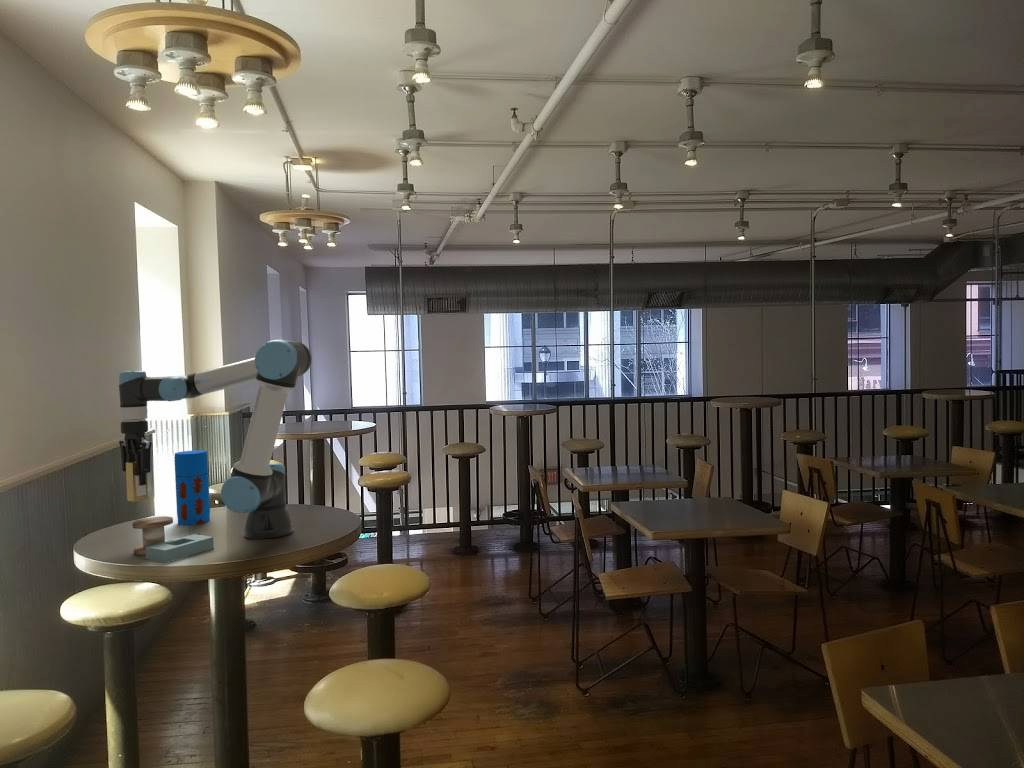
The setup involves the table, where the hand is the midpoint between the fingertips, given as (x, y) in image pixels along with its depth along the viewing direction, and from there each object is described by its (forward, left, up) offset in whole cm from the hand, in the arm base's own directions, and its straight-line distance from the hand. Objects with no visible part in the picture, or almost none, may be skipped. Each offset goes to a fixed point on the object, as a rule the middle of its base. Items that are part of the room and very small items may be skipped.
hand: (137, 494), depth 219 cm
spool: (-11, +2, -16) cm, 19 cm away
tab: (0, 0, -2) cm, 2 cm away
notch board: (-22, +1, -16) cm, 27 cm away
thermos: (+12, -29, -16) cm, 35 cm away
